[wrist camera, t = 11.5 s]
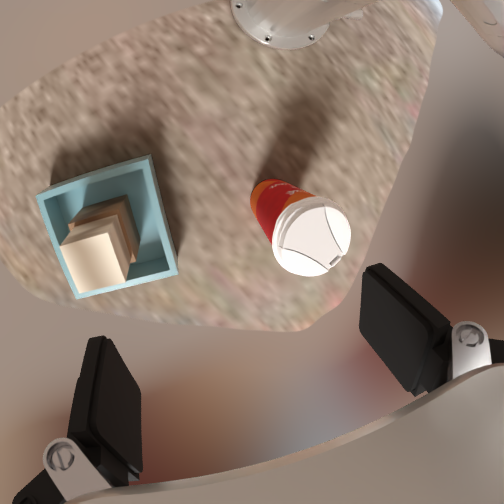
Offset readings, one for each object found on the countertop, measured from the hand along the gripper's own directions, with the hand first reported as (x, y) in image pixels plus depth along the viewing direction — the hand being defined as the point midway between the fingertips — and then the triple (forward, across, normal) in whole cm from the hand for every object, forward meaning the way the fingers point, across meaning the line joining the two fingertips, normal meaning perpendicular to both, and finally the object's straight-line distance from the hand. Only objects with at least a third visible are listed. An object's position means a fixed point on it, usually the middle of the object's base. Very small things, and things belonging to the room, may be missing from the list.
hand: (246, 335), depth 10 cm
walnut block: (+28, +11, +3) cm, 30 cm away
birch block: (+22, +11, +3) cm, 24 cm away
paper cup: (+28, -9, +5) cm, 30 cm away
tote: (+28, +11, +3) cm, 31 cm away
